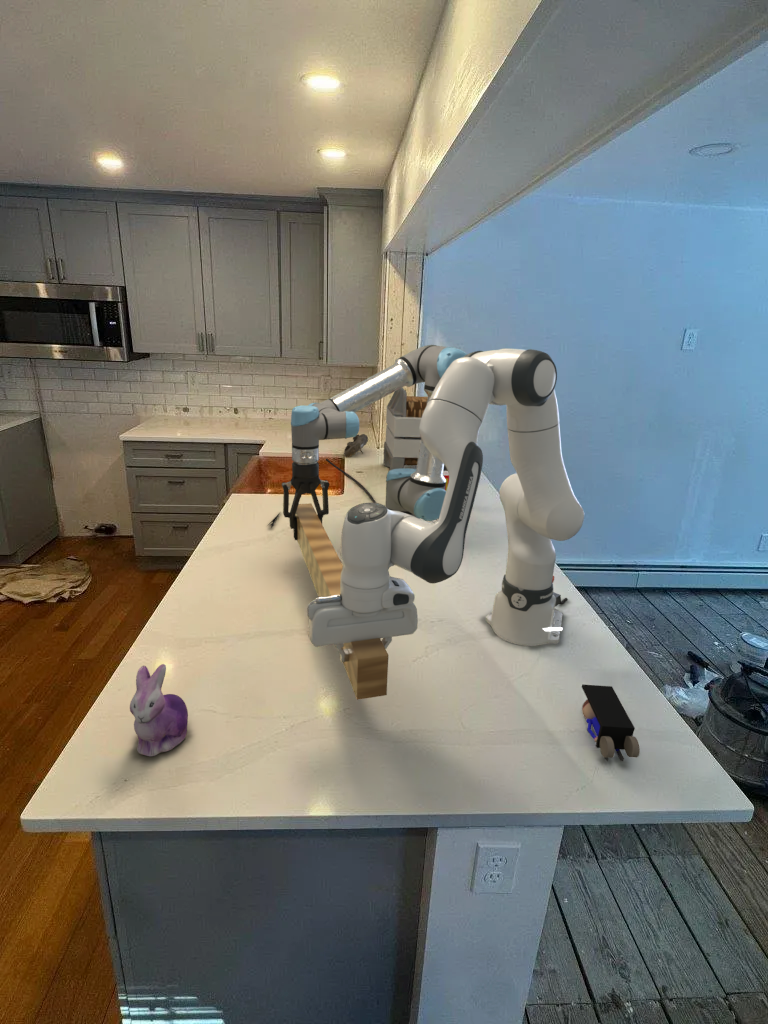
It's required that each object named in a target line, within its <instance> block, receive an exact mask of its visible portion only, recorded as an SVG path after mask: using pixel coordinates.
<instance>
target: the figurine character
mask: <svg viewBox="0 0 768 1024" xmlns="http://www.w3.org/2000/svg"><path fill="white" fill-rule="evenodd" d="M581 688H582V691H583V693H584V695H585V697H586V700H585V701H584V702H583V704H582V707H581V713H582V715H583V717H584V718H585V721H586V723H587V732H588V734H589V735H590V736H591V738H592V739H593V741H594V742H595V748H596V749H599V751H600V754H601V755H602V757H603V760H605V761H606V762H609V759H613V758H614V756H615V752H616V755H617V757H618V760H619V761H620V762H624V761H625V757H624V754H623V753H622V751H624V752H625V754H626V756H627V757H628V758H639V756H640V754H641V753H640V752H641V748H640V743H639V740H638V738H637V737H636V736H634V733H635V730H636V728H635V726H634V724H633V722H632V720H631V718H630V717H629V715H628V713H627V711H626V708H625V707H624V706H623V703H622V702H621V700H620V698H619V696H618V695H617V692H616V691H615V689H614V687H613V686H611V685H598V684H581ZM592 728H593V730H594V731H593V730H592ZM621 750H622V751H621Z"/></svg>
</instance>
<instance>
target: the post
mask: <svg viewBox="0 0 768 1024" xmlns="http://www.w3.org/2000/svg"><path fill="white" fill-rule="evenodd" d="M295 516H296V518H297V538H298V540H296V541H297V543H298V546H299V550H300V552H301V554H302V558H303V559H304V562H305V565H306V568H307V570H308V573H309V575H310V576H309V577H310V579H311V582H312V584H313V586H314V590H315V592H316V595H317V597H327V596H332V595H340V577H341V572H342V569H343V562H342V560H341V559H340V556H339V555H338V553H337V551H336V548H335V546H334V545H333V543H332V541H331V539H330V537H329V535H328V533H327V531H326V529H325V527H324V524H323V522H322V523H321V521H320V519H319V517H318V515H317V511H316V508H315V506H314V505H313V504H312V503H311V502H309V503H299V504H298V508H297V511H296V514H295ZM343 649H347V650H348V652H349V661H347V662H342V664H343V667H344V670H345V672H346V675H347V677H348V681H349V683H350V685H351V688H352V691H353V694H354V695H355V699H356V700H357V701H359V700H365V699H366V700H367V699H371V698H377V697H384V696H387V694H388V678H389V677H388V675H389V674H388V673H389V653H388V651H387V648H386V649H385V647H384V645H383V643H382V638H376V639H369V640H361V641H354V642H350V643H344V647H343ZM338 654H339V655H340V653H339V652H338Z"/></svg>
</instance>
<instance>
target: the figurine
mask: <svg viewBox="0 0 768 1024" xmlns="http://www.w3.org/2000/svg"><path fill="white" fill-rule="evenodd" d="M166 672H167V665H166V664H164V663H161V664H160V665H159V666H157V668H156V669H155V670H154V671H153V673H152V674H151V673H150V671H149V668H148V667H147V666H146V665H141V666H140V667H139V668H138V670H137V672H136V679H135V686H136V688H135V689H136V690H135V693H134V695H133V696H132V699H131V700H130V704H129V711H130V714H131V715H132V716H133V717H134V722H133V730H134V732H135V734H136V736H137V738H138V739H137V740H138V743H137V747H136V750H137V753H138V754H140V755H144V756H147V757H156V756H157V755H159V754H160V753H167V752H170V751H171V750H173V749H174V748H175V747H177V746H178V745H180V744H181V743H182V742H183V741H184V740H185V739H186V738H187V734H188V722H189V721H188V718H189V711H188V707H187V704H186V702H185V701H184V700H183V698H182V697H181V696H179V695H178V694H174V693H166V694H163V692H162V687H163V684H164V680H165V677H166Z"/></svg>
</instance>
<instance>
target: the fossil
mask: <svg viewBox="0 0 768 1024" xmlns="http://www.w3.org/2000/svg"><path fill="white" fill-rule="evenodd" d="M352 440H353V441H348V442H347V443H346V446H345V448H344V453H343V455H344V457H345V458H350V457H352V456H354V455H356V454H357V453H358V452H361V454H364V452H363V450H362V449H363V448H364V446H366V445H367V443H368V442H369V437H368V434H365V433H361V434H359V433H358V434H357V435H356V436H355V437H352Z"/></svg>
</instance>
